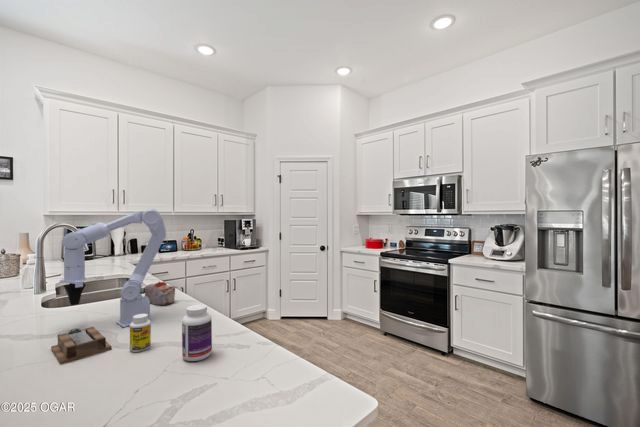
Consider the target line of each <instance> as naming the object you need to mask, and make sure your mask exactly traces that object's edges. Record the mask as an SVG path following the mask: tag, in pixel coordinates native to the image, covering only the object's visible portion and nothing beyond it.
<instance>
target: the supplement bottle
mask: <svg viewBox="0 0 640 427" xmlns="http://www.w3.org/2000/svg"><path fill="white" fill-rule="evenodd" d="M151 323H152V322H151V320H148V314H138V315H135V316H133V322H132V323H131V324H130V326H129V350H130V351H131V352H133V353H139V352H140V353H141V352H144V351H146V350H148V349H150V347H151V343H152V340H151V336H152V334H151V333H152V332H151V328H152V326H151V325H152V324H151Z"/></svg>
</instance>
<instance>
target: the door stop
mask: <svg viewBox="0 0 640 427" xmlns="http://www.w3.org/2000/svg"><path fill="white" fill-rule="evenodd" d="M67 335H68V336H69V337H70V339H71V340H72V341H73V342H74V344H75V345H77V344H81V343H85V342H89V341H92V340H93V339H92V338H91V337H90V336H89V335H88V334H87V333H86V330H84V331H83V330H81V329H80V328H73V329H71V330H69V331H68V333H67Z"/></svg>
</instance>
